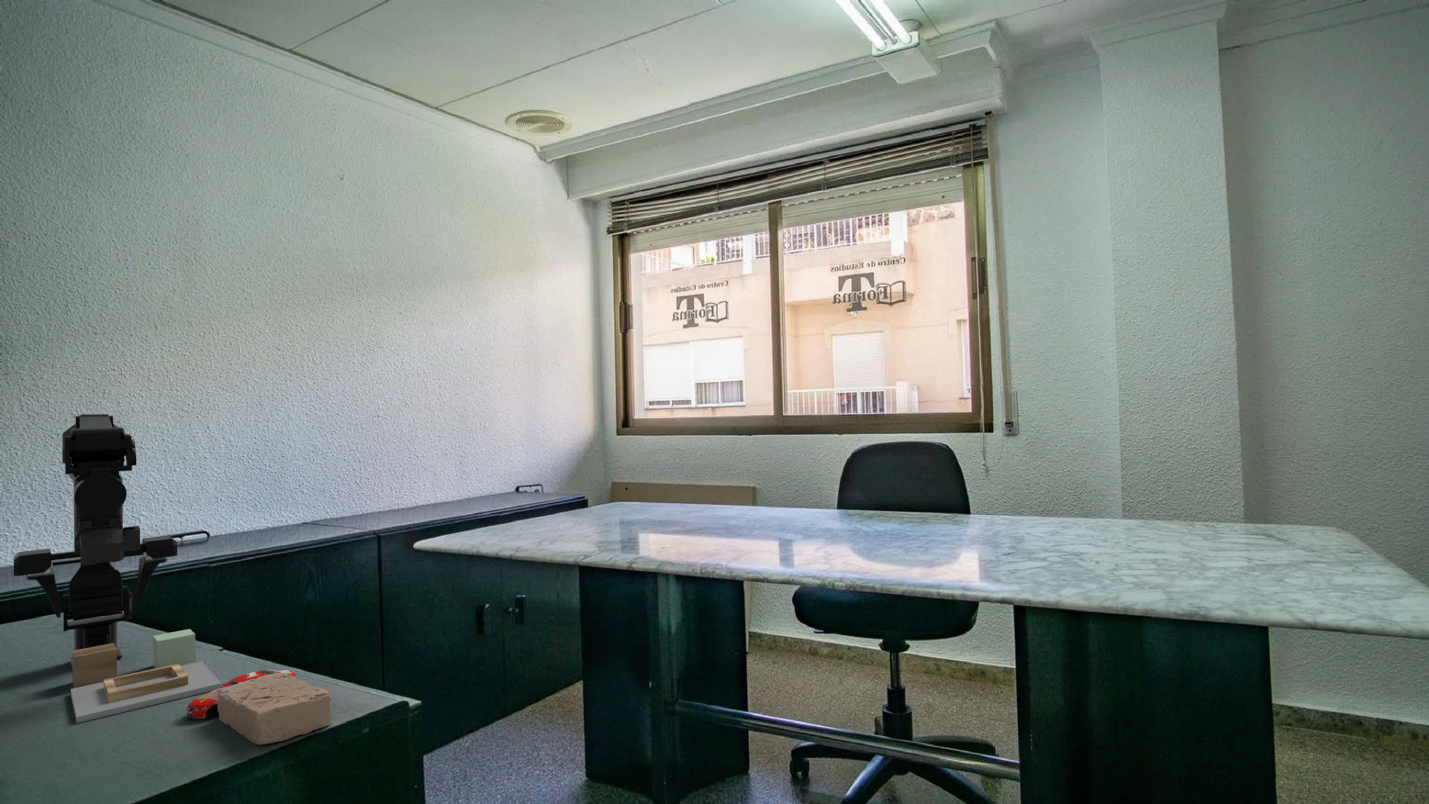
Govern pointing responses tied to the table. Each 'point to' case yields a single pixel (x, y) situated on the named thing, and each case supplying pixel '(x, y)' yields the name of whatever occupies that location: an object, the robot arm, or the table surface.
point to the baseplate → (141, 690)
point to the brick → (274, 708)
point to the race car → (209, 702)
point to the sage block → (174, 648)
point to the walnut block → (94, 665)
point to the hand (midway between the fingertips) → (99, 610)
